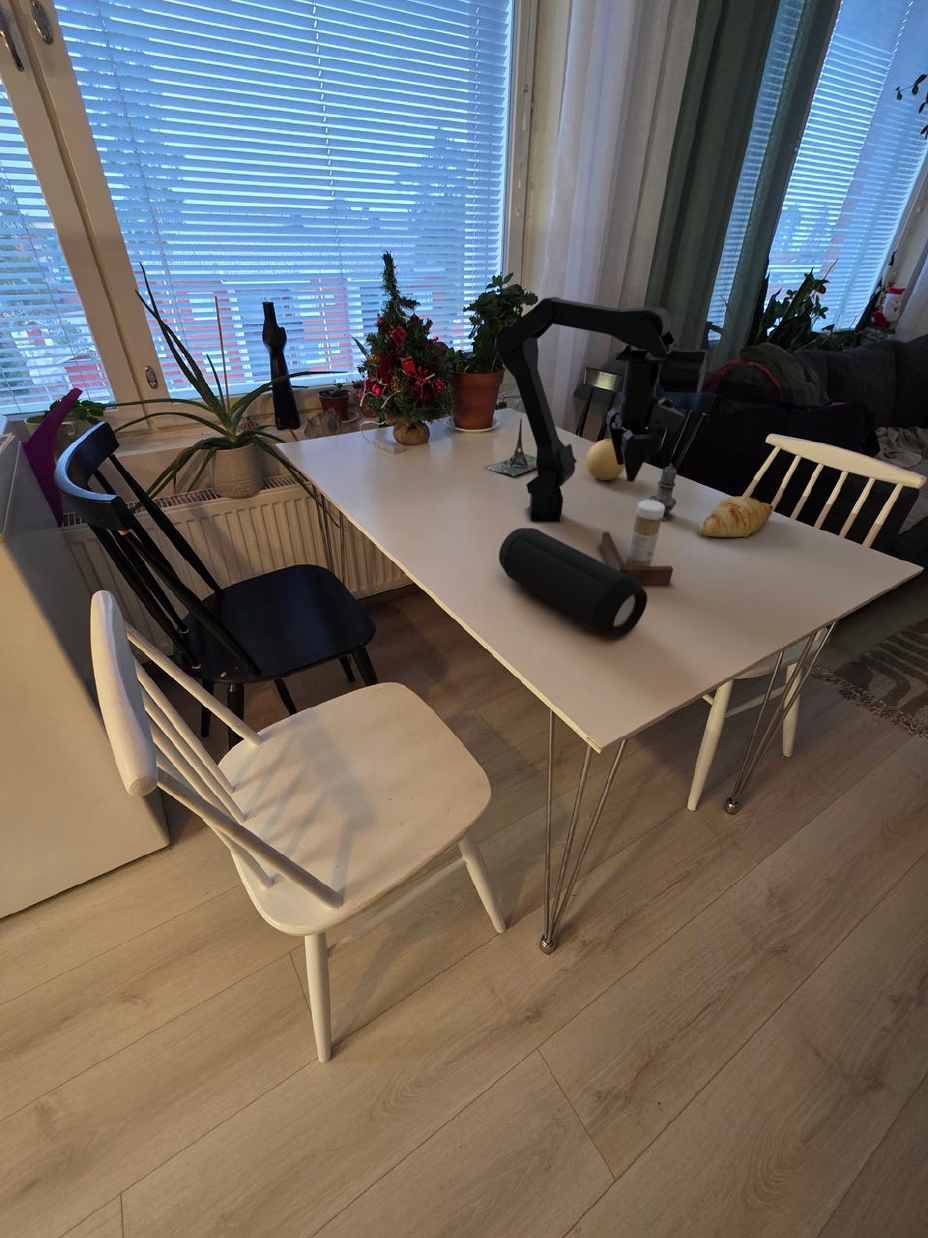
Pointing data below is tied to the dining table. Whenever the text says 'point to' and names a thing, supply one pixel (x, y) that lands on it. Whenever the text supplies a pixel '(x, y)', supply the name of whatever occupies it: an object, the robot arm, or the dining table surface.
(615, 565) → the corner fence
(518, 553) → the portable speaker
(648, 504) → the sprinkles bottle
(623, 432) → the robot arm
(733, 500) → the croissant
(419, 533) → the dining table surface
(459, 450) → the dining table surface
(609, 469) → the stress ball
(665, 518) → the grey stone chess piece
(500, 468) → the eiffel tower figurine
